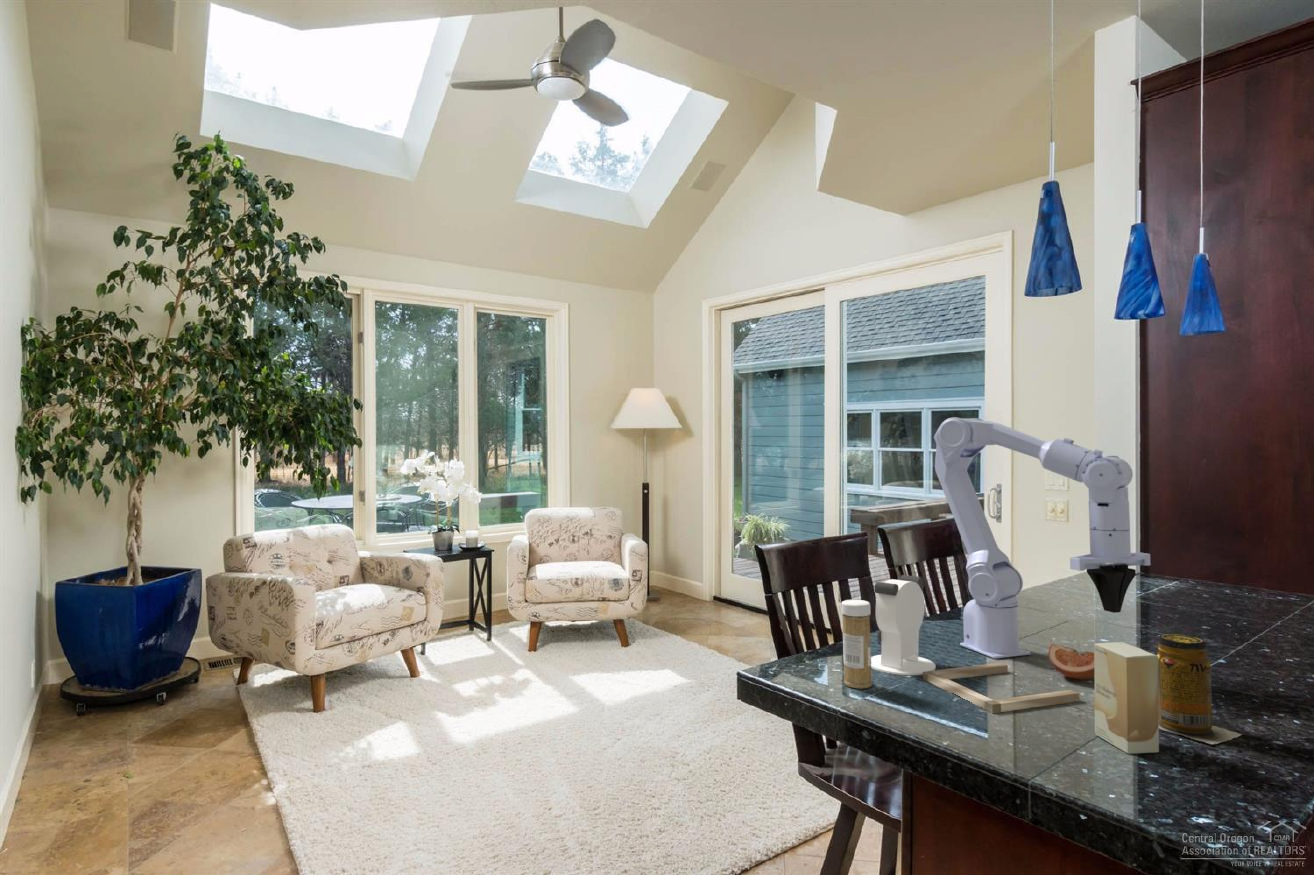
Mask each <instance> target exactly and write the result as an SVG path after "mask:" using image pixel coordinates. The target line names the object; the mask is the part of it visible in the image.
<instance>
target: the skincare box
mask: <svg viewBox="0 0 1314 875" xmlns="http://www.w3.org/2000/svg"><path fill="white" fill-rule="evenodd" d="M1093 645H1094V646H1093V648H1094V650H1093V653H1094V676H1095V677H1094V734H1095V735H1096V736H1098V737H1099V738H1101V739H1102V740H1104V741H1106V742H1108V743H1109V744H1111V745H1112V746H1114V747H1116V748H1117V749H1119V750H1120V751H1123V752H1124V753H1126V754H1130V755H1131V754H1148V753H1150V754H1151V753H1159V752H1160V743H1159V742H1160V740H1159V739H1160V734H1159V731H1160V729H1159V696H1158V656H1157V655H1158V654H1154V653H1153V652H1152V653H1151V652H1149V651H1147V650H1144V649H1142V648H1140V647H1138V646H1133V645H1131V644H1130V643H1129V644H1128V643H1126V642H1124V641H1120V642H1119V641H1116V642H1100V643H1099V642H1098V643H1096V642H1095V643H1094V644H1093Z"/></svg>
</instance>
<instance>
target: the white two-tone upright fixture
mask: <svg viewBox="0 0 1314 875" xmlns="http://www.w3.org/2000/svg"><path fill="white" fill-rule="evenodd" d="M924 582H925V581H924V578H923V577H922V576H915V575H907V574H901V576H900V578H899V579H893V578H891V579H888V580H886V581H884V582H882V581H881V582H880V581H876V582H875V583H874V592H875V594H877V595H876V599H875V600H876V601H875V606H874V609H875V621H876V624H877V627H878V629H879V630H878V631H877V634H876V635H877V636H876V639H877V642H878V644H881V649H880V650H881V653H880V654H877V655H873V656H871V669H873V670H876V671H878V672H881V673H885V672H886V673H885V674H890V673H891V675H899V676H923V672H926V671H934V670H937V669H936V664H935V663H934V662H933V661H932V660H930V659H927V658H925V657H922V656H919V641H920V640H919V637H920V635H919V634H920V633H919V631H920V628H921V627H922V624H923V621H924V616H925V611H926V610H925V599H924V598H925V597H924V594H923V591H924V587H925V583H924Z"/></svg>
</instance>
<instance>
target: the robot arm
mask: <svg viewBox="0 0 1314 875" xmlns="http://www.w3.org/2000/svg"><path fill="white" fill-rule="evenodd" d="M933 439H934V441H935V443H936V447H935V461H934V470H935V474H936V476H937V478H938V481H939V483H940V486H941V489H942V491H943V493H944V496H945V498H946V501H947V503H948V506H949V509H950V511H951V513H952V516H953V519H954V522H955V524H956V526H957V530H958V532H959V535H960V536H961V539H962V542H963V545H964V547H965V550H966V553H967V555H968V559H967V562H966V564H965V565H966V566H965V569H966V572H967V576H968V581H967V582H968V584H967V586H968V591H969V594H970V595H971V597H972V599H971V600H969V601H968V602H966V605H965V606H964V607H963V608H964V609H963V613H962V620H963V642H960V643H959V644H960V645H959V646H962V647H963V648H965V649H969V650H972V651H974V652H977V653H979V654H982V655H984V656H987V657H990V658H992V659H1002V658H1003V659H1004V658H1012V657H1013V658H1014V657H1019V656H1020V657H1021V656H1029V655H1031V651H1029V650H1026V649H1024V648H1021V647H1020V644H1019V643H1020V642H1019V641H1020V640H1019V638H1020V636H1019V635H1020V634H1019V605H1018V604H1019V602H1018V599H1017V596H1018V595H1019V594H1020V593H1021V591H1022V590H1023V586H1024V585H1023V584H1024V583H1023V582H1024V581H1023V580H1024V579H1023V577H1022V575H1021V573H1020V572H1019V571H1018V569H1017V568H1015V567H1014V566H1013V565H1012V563H1011V561H1010V559H1009V556H1008V555H1007V554H1006V553H1004V552H1003V550H1001V549H1000V548H999V546H998V544H997V541H996V539H995V536H994V534H993V532H992V529H991V527H990V525H989V522H988V520H987V517H986V515H985V513H984V509H983V507H982V504H981V502H980V500H979V498H978V495H977V493H976V490H975V487H974V485H973V482H972V479H971V477H970V475H969V473H968V468H969V467H970V465H971V463H972V461H973V459H974V458H975V457H976V456H977V455H978V454H979V453H980V452H982V450H983V449H985V448H986V446H996V445H997V446H999V447H1003V448H1005V449H1008V450H1012V451H1014V452H1017V453H1020V454H1024V455H1026V456H1029V457H1033V458H1036V459H1037V460H1039V462H1040V464H1041V466H1042V468H1043V469H1044V470H1047V471H1049V472H1052V473H1053V474H1054V473H1055V474H1056V475H1059V476H1062V477H1065V478H1068V479H1071V480H1073V481H1075V482H1077V483H1083V484H1084V486H1086V487H1087V489H1088V519H1089V520H1088V522H1089V524H1088V526H1089V530H1088V531H1089V553H1087V554H1084V555H1079V556H1072V557H1069V568H1070V570H1075V571H1077V572H1078V571H1081V572H1083V571H1085V570H1086V573H1087V575H1088V576H1089V578H1090V579H1091V581H1092V582H1093V584H1094V586H1095V588H1096V591H1097V594H1098V595H1099V598H1100V601H1101V605H1102V607H1103V611H1106V612H1109V613H1115V614H1116V613H1121V612H1122V611H1121V610H1122V608H1123V604H1124V600H1125V596H1126V593H1127V591H1128V588H1129V587H1130V584H1131V583H1132V582H1133V580H1134V578H1135V577H1136V576H1137V570H1136V568H1130V567H1131V566H1132V567H1137V566H1144V567H1145V566H1151V554H1150V553H1146V552H1145V553H1144V552H1132V550H1131V548H1132V547H1131V521H1130V519H1131V518H1130V517H1131V516H1130V501H1129V487H1128V486H1129V485H1130V484H1131V482H1132V479H1133V476H1134V475H1133V470H1132V467H1131V465H1130V464H1129V463H1128V462H1127V461H1125V459H1122V458H1120V457H1119V456H1118V455H1107V456H1104V457H1103V452H1104V451H1102V450H1100V449H1094V450H1091V449H1088V448H1086V447H1082V446H1081V445H1077V444H1076V443H1075V444H1074V442H1075V440H1074V439H1071V438H1069V437H1064V438H1062V439H1060V438H1055V439H1053V440H1050V441H1049V442H1046V441H1044V440H1042V439H1039V438H1036V437H1034V436H1031V435H1029V434H1026V433H1024V432H1022V431H1019V430H1016V429H1015V428H1011V427H1009V426H1006V425H1005V424H1001V423H998V422H994V421H991V420H990V421H989V420H984V419H982V418H978V417H972V418H971V417H970V418H960V417H956V416H955V417H953V416H952V417H948V418H947V419H945V420H944V421H942V422H941V424H940V425H939V427H938V428H937V430H936V432H935V434H934V436H933Z"/></svg>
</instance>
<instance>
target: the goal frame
mask: <svg viewBox="0 0 1314 875" xmlns="http://www.w3.org/2000/svg"><path fill="white" fill-rule="evenodd" d="M1004 673H1005V674H1006V673H1009V666H1008V664H1006V663H1003V662H995V663H986V664H978V665H977V664H976V665H970V666H962V667H961V666H960V667H954V668H951V667H950V668H944V669H935V670H934V671H926V672H923V675H922V680H924V681H926V682H928V683H930V684H931V685H934V686H936V687H938V688H939V689H942V690H944V691H946V692H948V693H950V694H952V693H954V694H956V695H958V696H960V697H961V698H960V697H959V698H960V699H962V698H963V700H964V699H965V700H964V701H966V700H968V701H970V702H969V703H971V702H972V703H971V704H973V705H975V706H977V707H979V708H981V707H982V708H981V709H983V710H985V711H987V712H989V713H991V714H996V713H1003V712H1010V711H1019V710H1024V709H1033V707H1034V708H1039V707H1046V706H1053V705H1061V704H1069V703H1075V701H1076V702H1079V701H1078V700H1080V692H1077V691H1075V690H1073V689H1068V690H1059V691H1053V692H1052V691H1051V692H1045V693H1037V694H1029V695H1023V696H1022V695H1021V696H1015V697H1007V698H999V699H992V698H990V697H987V696H985V695H983V694H981V693H979V692H976V691H974V690H973V689H971V688H968V687H966V686H963V685H962V684H959V683H957V682H955V681H953V680H954V679H955V680H956V678H957V679H965V678H973V677H980V676H988V675H997V674H1004ZM954 694H953V695H954ZM956 695H955V696H956ZM958 696H957V697H958ZM968 701H967V702H968ZM1031 707H1032V708H1031Z"/></svg>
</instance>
